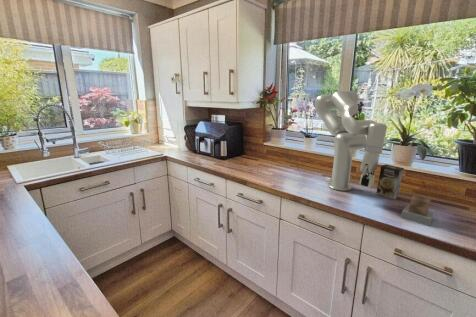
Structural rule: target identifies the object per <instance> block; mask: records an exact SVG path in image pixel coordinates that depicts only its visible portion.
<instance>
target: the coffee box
mask: <svg viewBox="0 0 476 317" xmlns="http://www.w3.org/2000/svg"><path fill="white" fill-rule="evenodd" d="M404 170H405V169H404V167H399V166H396V165H390V164H383V165H381V166H380V170H379V177H378V181H377V182H378V183H377V186H376V187H377V189H376V193H375V194H376V195H377V196H380V197H381V196H382V197H384V198H386V199H387V198H388V199H390V200H396V199H397V198H398V197H399V196H400V195H399V194H400V190H401V185H402V181H403V180H402V179H403V173H404Z"/></svg>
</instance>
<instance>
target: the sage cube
mask: <svg viewBox="0 0 476 317" xmlns="http://www.w3.org/2000/svg"><path fill="white" fill-rule="evenodd" d="M366 174H367V173H366ZM367 176H368V174H367ZM375 178H376V175H375V174H374V175H371V174H370V175H369V183H368V186H365V188H372V187H373V186H374V182H375ZM359 179H360V180H359V185H360V186H362V185H361V181H362V174H361V175H360V178H359Z"/></svg>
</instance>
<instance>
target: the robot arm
mask: <svg viewBox="0 0 476 317" xmlns="http://www.w3.org/2000/svg"><path fill="white" fill-rule="evenodd" d="M357 103H359V94H358V93H357V92H356V91H353V90H337V91H335V92H334V93H333V94H330V93H329V94H326V93H325V94H321V95H320V94H319V96H317V97H316V98H315V100H314V108H315V112H316V114H317V115H318V117H319V119H321V121H322V122H323V124H324V125H325V127H326V129H327V130H328V131H329V133H330V135H332V136H333V137H334V138H333V139H334V140H333V147H334V148H333V149H334V154H333V155H334V156H333V164H332V172H331V177H329V176H326V177H325V178H324V180H325V182H329V183H328V184H327V186H328V188H330V189H332V190H335V191H341V192H347V191H348V192H349V191H351V190H352V188H353V187H352V186H351V184H350V178H351V171H352V164H353V155H352V154H351V151H356V150H362V149H364V154H363V157H362V160H361V164H360V169H359V170H360V172H362V173H361V175H362V181H361V185H360V186H363V187H366V186H368V183H369V175H370V174H371V175H375V171H376V170H377V169H378V165H379V159H380V154H382V153H383V148H384V143H385V140H386V135H387V134H386V133H387V129H388V125H387V124H385V123H384V122H377V121H375V120H372V119H371V120H370V119H369V120H368V119H355V118H354V117H353V116H354V115H356V114H357V112H358V110H359V105H358V104H357ZM332 109H333V110H334V109H335V110H338V111H339V112H340V113H341V118H340V117H339V116H338V114H337V113H336V112H335V111H333V110H332ZM366 173H367V174H368V176H367V174H366Z"/></svg>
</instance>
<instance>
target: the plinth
mask: <svg viewBox="0 0 476 317" xmlns="http://www.w3.org/2000/svg"><path fill="white" fill-rule="evenodd" d="M409 206H410V204H407V205H406V206H405V207H404V209H402V211H401V213H400V214H401V215H400V218H402V219H405V220H408V221H411V222H415V223H418V224H422V225H424V226H428V227H429V226H430V225H431V222H432V221H433V220H434V215H435V211H433V210H429V209H428V212H427V214H426V215H425V216H423V215H420V214H416V213H413V212H409Z"/></svg>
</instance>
